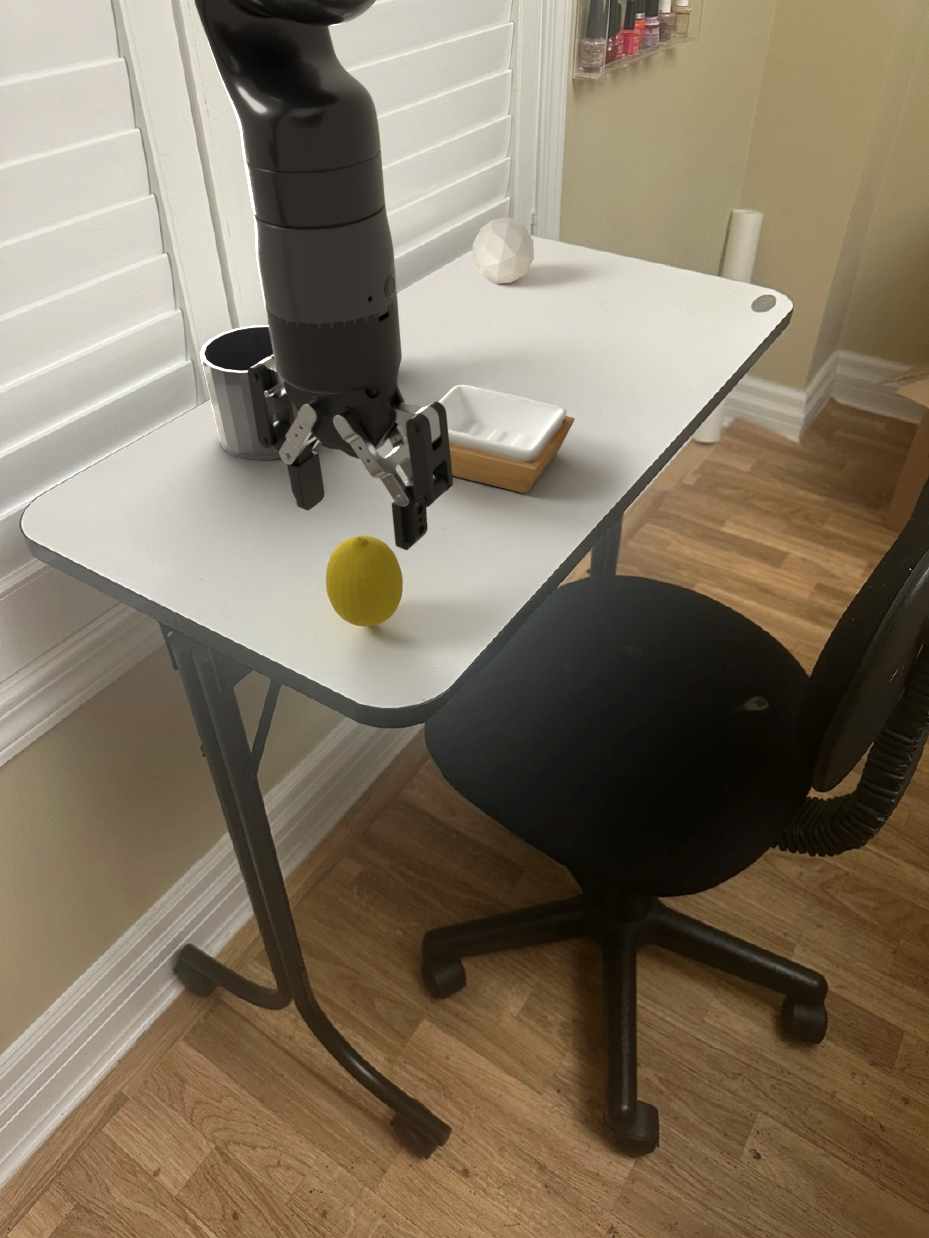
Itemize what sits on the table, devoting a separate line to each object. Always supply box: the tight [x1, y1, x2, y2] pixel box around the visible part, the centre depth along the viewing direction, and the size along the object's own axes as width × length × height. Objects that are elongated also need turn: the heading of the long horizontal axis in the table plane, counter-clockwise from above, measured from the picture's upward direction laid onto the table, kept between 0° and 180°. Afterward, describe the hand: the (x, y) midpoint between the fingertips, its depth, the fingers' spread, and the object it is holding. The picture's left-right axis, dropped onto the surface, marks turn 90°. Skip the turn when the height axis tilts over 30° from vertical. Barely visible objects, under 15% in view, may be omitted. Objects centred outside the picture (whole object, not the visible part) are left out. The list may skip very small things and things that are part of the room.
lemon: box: [325, 535, 404, 628], centre depth 66 cm, size 6×6×8 cm
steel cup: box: [199, 324, 298, 461], centre depth 86 cm, size 10×10×9 cm
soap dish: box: [438, 384, 576, 495], centre depth 83 cm, size 12×10×5 cm
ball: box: [472, 217, 535, 285], centre depth 115 cm, size 8×8×8 cm
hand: (359, 522), depth 62 cm, fingers open, 8 cm apart
